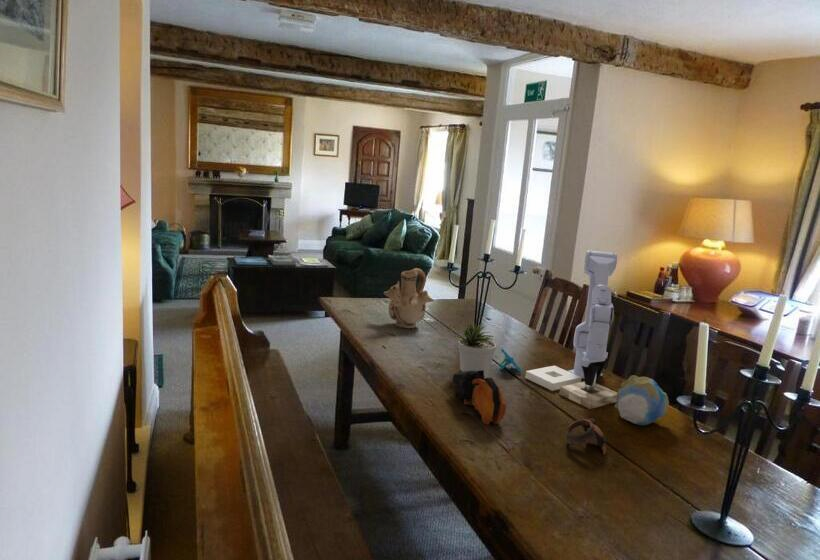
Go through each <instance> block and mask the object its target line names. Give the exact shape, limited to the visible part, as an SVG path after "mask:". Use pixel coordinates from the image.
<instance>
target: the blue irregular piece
mask: <svg viewBox="0 0 820 560" xmlns="http://www.w3.org/2000/svg"><path fill="white" fill-rule="evenodd" d="M500 351H501V353H503V354H504V356H503V357H504V358H503V360H502V361H501V362H500V363H499V364H498V365H499V366H500V367H499V370H500V371H502V370H503V369H504V368H505V367H507V366H509V365H511V364H512V365H513V366H514V367H515V369H517V370H518V372H519V373H520V372H521V371H522V369H521V368H520V367H519V365H518V364H517V363H516V362H515V358H514V357H513V356H512V357H511V356H510V355H508V353H507V351H505V349H504V348H501V349H500Z"/></svg>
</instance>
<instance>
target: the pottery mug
mask: <svg viewBox="0 0 820 560" xmlns="http://www.w3.org/2000/svg"><path fill="white" fill-rule="evenodd" d="M597 424H598V423H597V421H596V419H595V418H592V417H591V418H585V419H584V418H582V419H577V420H575V421H572V423H570V424H569V425H568V426H567V429H566V430H565V434H566V436H565V442H566V444H570V446H583V448H586V447H587V441H590V442H595V443H596V446H600V447H601V451H602V455H606V453H607V446H606V445H607V444H606V439H605V436H604V433H603V432H602V430H601V428H600V427H599V426H598V425H597ZM580 426H582V428H583V431H584V432H583V433H581V434H571V432H572V431H573V430H574V429H576V428H577V427H580Z"/></svg>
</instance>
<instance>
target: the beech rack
mask: <svg viewBox="0 0 820 560" xmlns="http://www.w3.org/2000/svg"><path fill="white" fill-rule="evenodd" d="M584 390H585V380H584V381H581V382H580V383H575V384H571V385H566V386H562V387H560V389H559V395H560V396H562V397H563V398H567V399H569V400H571V402H572V401H573V402H575V403H577V404H579V405H580V406H582V407H585V408H587V409H588V410H589V409H590V410H591V409H595V408H599V407H603V406H606V404H607V405H611V404H614V403H618V402H617V399H616V395H617V393H618V391H617V392H616V391H615V390H612V389H610V388H608V387H606V386H603V385H601V384H598V383H595V391H594V394H590V393H588V392H585V391H584ZM610 403H611V404H610Z"/></svg>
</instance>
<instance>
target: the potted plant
mask: <svg viewBox="0 0 820 560" xmlns="http://www.w3.org/2000/svg"><path fill="white" fill-rule="evenodd" d="M466 321H467V322H466V323H467V325H466V329H465V328H464V327H462V326H461V325H459V327H460V328H461V329H462V331H463V335H464V336H465V337H463V336H461V335H459V334H456V336H457V337H458V338H460V339H458V338H457V337H456V338H455V337H454V339H455V340H457V343H458V344H457V345H458V349H459V367H460V370H459V371H461V370H462V372H463V371H480V370H484V377H485V378H488V375H489V372H490V369H491V368H490V367H491V364H492V361H493V357H494V354H495V351H496V348H497V343H495V342H494V339H493V335H488V334H485V333H489V334H490V333H491V331H483V332H482V330H484V328H485V329H486V327H487V325H486V324H485V325H483V323H481V324H479V325H478V326H477V325H476V323H475V324H473V320H471V321H469V320H468V319H466ZM473 325H474V326H473ZM476 326H477V327H476ZM485 378H484V379H485Z"/></svg>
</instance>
